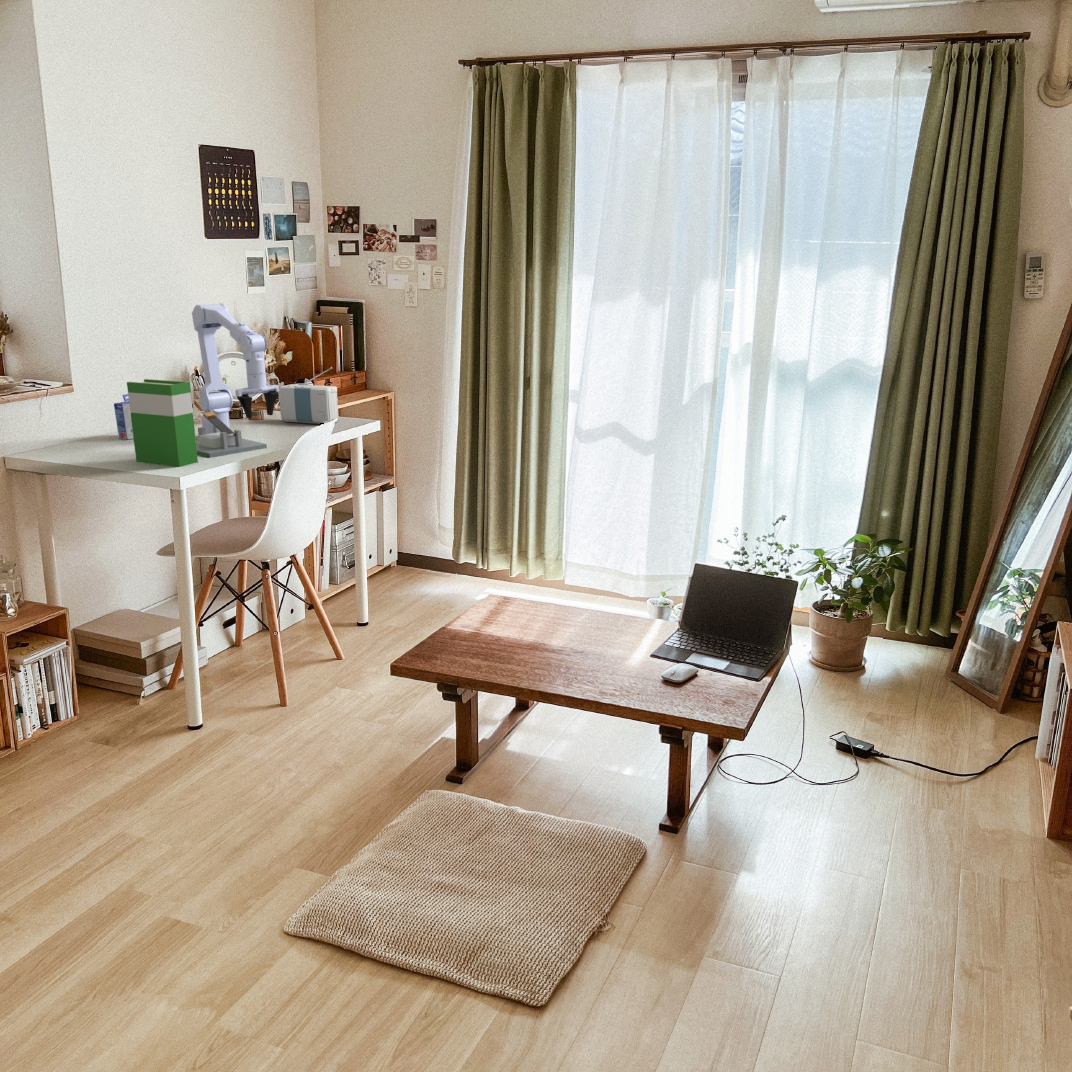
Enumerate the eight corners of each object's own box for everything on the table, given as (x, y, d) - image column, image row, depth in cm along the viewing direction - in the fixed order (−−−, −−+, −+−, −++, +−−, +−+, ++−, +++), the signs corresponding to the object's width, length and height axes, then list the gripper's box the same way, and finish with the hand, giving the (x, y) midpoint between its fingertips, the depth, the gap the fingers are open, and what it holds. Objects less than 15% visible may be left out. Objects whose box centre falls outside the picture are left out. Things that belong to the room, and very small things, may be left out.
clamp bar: (203, 416, 331) (203, 412, 330) (211, 415, 333) (212, 411, 332) (227, 438, 323) (227, 434, 323) (235, 436, 326) (236, 432, 325)
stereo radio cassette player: (280, 422, 375) (275, 367, 370) (293, 419, 383) (289, 364, 377) (328, 426, 368) (325, 369, 362) (341, 422, 375) (338, 367, 369)
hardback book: (136, 461, 311) (126, 382, 305) (155, 457, 318) (146, 379, 311) (179, 467, 304) (170, 385, 297) (197, 462, 310) (189, 382, 303)
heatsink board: (174, 448, 331) (172, 429, 329) (230, 439, 345) (228, 420, 343) (210, 457, 316) (208, 437, 315) (266, 447, 330) (265, 428, 328)
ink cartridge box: (142, 434, 356) (137, 392, 352) (152, 435, 353) (147, 393, 349) (117, 438, 348) (111, 395, 344) (127, 440, 345) (122, 397, 341)
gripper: (242, 377, 316) (246, 420, 320) (283, 372, 327) (286, 414, 330) (230, 375, 321) (234, 418, 325) (270, 370, 331) (274, 412, 335)
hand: (259, 416), depth 328 cm, fingers open, 7 cm apart
